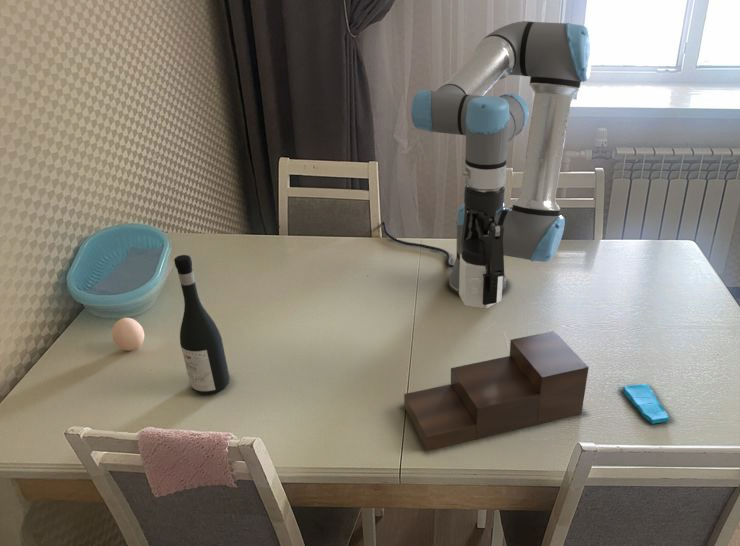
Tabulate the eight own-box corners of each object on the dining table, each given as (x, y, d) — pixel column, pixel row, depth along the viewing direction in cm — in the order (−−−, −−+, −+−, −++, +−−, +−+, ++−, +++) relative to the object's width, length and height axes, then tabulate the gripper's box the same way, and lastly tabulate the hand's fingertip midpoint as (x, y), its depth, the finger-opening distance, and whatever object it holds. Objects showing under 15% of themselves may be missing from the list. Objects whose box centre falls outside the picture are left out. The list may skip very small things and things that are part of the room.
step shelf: (404, 407, 139) (402, 361, 132) (549, 375, 148) (554, 330, 142) (426, 451, 128) (426, 402, 121) (581, 413, 137) (588, 367, 130)
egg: (110, 353, 155) (101, 323, 151) (130, 338, 160) (122, 309, 156) (134, 358, 153) (125, 329, 149) (153, 343, 159) (145, 314, 154)
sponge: (642, 421, 133) (671, 416, 133) (621, 385, 143) (648, 381, 143) (641, 427, 134) (670, 422, 134) (621, 391, 144) (648, 386, 144)
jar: (453, 304, 138) (454, 250, 131) (464, 286, 144) (465, 233, 138) (496, 311, 136) (499, 256, 129) (505, 292, 142) (509, 239, 135)
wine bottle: (209, 401, 140) (179, 270, 124) (183, 389, 144) (150, 260, 127) (238, 381, 146) (213, 254, 129) (212, 370, 149) (184, 245, 133)
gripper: (445, 169, 134) (445, 272, 147) (489, 208, 117) (483, 321, 130) (481, 165, 136) (477, 267, 149) (528, 203, 119) (519, 314, 132)
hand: (480, 292), depth 139 cm, fingers closed on jar, 9 cm apart
